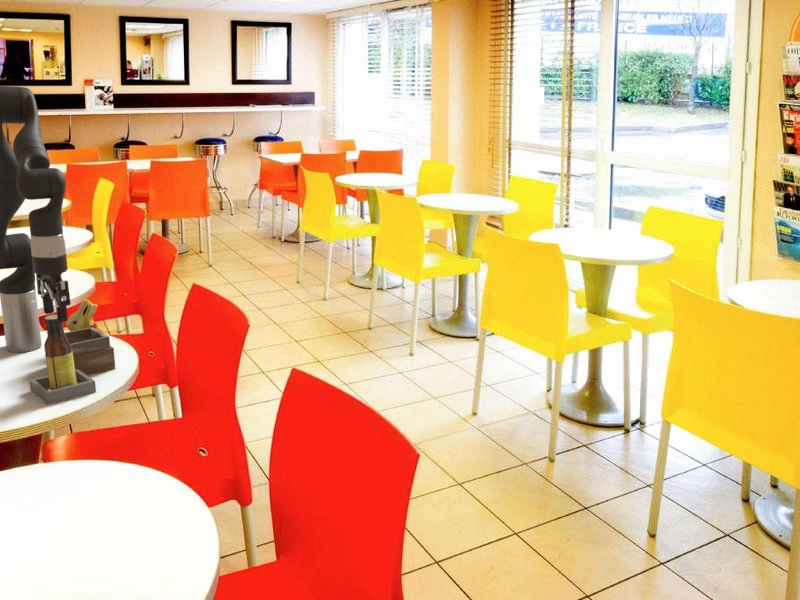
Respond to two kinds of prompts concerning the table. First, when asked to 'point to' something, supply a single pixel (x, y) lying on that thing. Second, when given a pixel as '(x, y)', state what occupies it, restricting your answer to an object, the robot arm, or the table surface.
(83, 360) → the walnut dock
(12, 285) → the robot arm
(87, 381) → the low holder
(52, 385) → the sauce bottle
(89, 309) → the chocolate bunny
